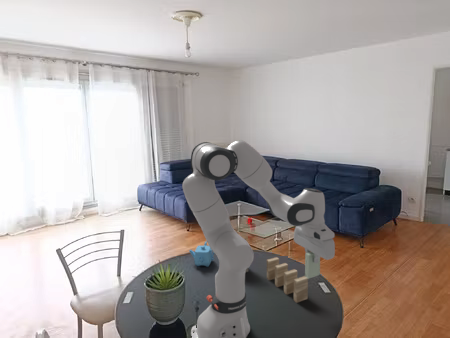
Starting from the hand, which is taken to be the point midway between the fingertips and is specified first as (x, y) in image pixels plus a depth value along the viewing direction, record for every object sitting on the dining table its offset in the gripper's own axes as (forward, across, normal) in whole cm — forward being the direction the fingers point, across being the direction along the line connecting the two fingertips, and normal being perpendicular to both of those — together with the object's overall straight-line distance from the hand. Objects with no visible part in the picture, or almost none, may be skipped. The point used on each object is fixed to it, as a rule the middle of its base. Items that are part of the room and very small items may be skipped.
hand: (312, 260), depth 124 cm
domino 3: (+21, -14, 0) cm, 25 cm away
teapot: (+21, -60, -25) cm, 68 cm away
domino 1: (+21, -28, 0) cm, 35 cm away
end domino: (+7, 0, 0) cm, 7 cm away
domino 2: (+21, -21, 0) cm, 30 cm away
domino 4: (+21, -7, 0) cm, 22 cm away
